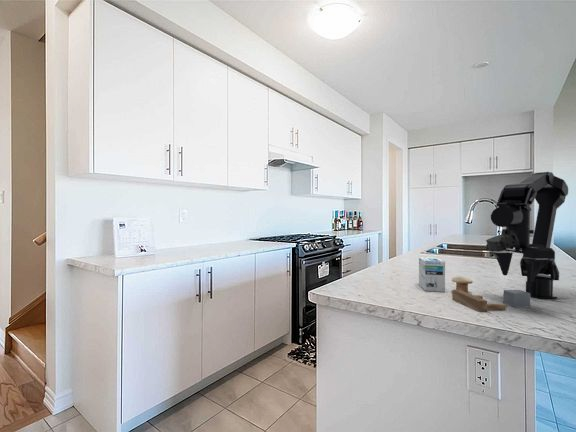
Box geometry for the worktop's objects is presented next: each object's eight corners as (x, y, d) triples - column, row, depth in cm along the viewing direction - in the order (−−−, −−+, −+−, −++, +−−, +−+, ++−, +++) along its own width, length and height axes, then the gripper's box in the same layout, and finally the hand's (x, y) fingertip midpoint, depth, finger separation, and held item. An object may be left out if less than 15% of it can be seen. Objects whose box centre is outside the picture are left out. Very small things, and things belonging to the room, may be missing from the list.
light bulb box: (445, 292, 104) (445, 261, 104) (424, 291, 106) (424, 260, 106) (436, 285, 115) (437, 256, 115) (417, 284, 116) (418, 256, 116)
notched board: (477, 299, 96) (477, 289, 96) (507, 311, 84) (507, 300, 84) (452, 299, 96) (452, 290, 96) (478, 311, 84) (479, 301, 84)
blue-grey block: (518, 302, 93) (519, 289, 93) (530, 306, 89) (530, 293, 89) (503, 303, 93) (503, 289, 93) (514, 307, 89) (514, 293, 89)
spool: (464, 291, 106) (464, 277, 105) (476, 296, 100) (476, 281, 100) (448, 291, 105) (448, 277, 105) (459, 296, 99) (459, 281, 99)
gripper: (470, 224, 100) (470, 272, 100) (518, 227, 81) (517, 286, 81) (503, 224, 100) (502, 272, 101) (557, 227, 82) (556, 285, 82)
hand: (517, 278), depth 91 cm, fingers open, 9 cm apart
